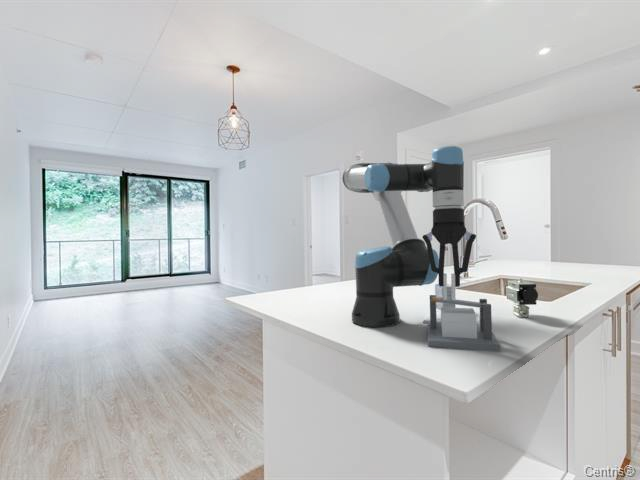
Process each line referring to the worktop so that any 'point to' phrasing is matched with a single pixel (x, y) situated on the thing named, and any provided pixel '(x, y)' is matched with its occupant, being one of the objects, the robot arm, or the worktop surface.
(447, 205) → the robot arm
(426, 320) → the external hard drive
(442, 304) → the medicine box
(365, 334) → the worktop surface
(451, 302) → the lever
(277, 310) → the worktop surface
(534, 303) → the pneumatic valve
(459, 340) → the heatsink base
